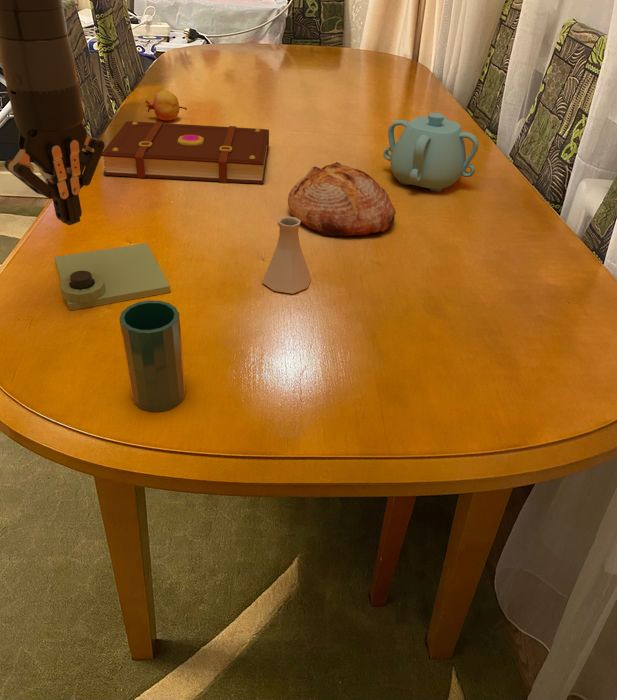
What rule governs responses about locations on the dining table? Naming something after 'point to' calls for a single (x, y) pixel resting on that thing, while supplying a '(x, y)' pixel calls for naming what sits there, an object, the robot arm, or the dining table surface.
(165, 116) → the fruit
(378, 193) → the bread
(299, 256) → the flask
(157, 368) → the cup
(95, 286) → the scale
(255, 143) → the book
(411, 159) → the decorative pot
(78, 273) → the tare button
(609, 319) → the dining table surface
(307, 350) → the dining table surface
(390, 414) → the dining table surface
